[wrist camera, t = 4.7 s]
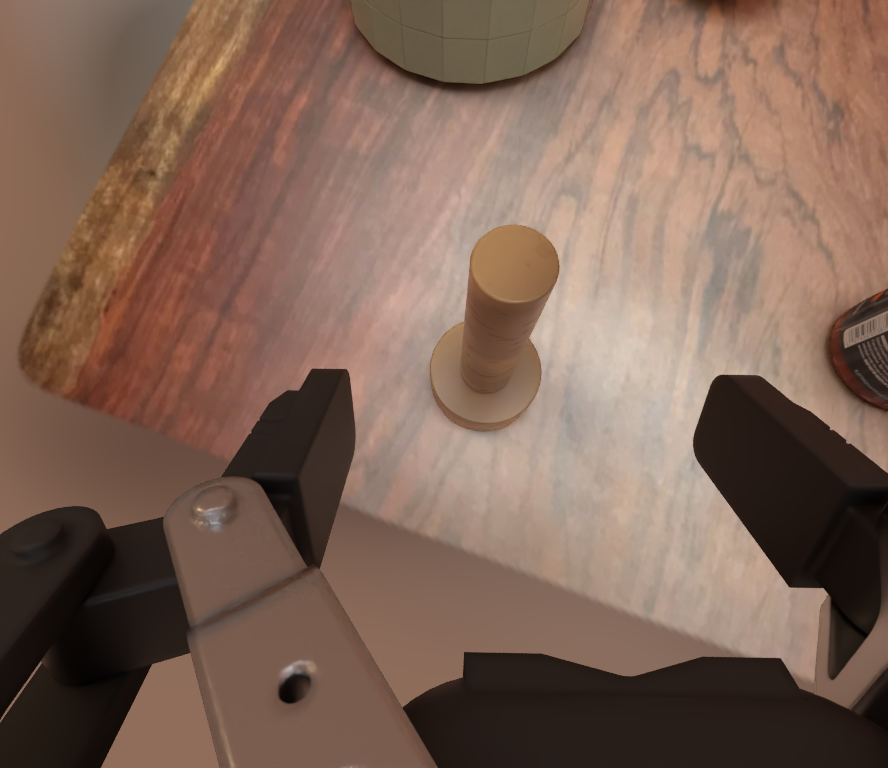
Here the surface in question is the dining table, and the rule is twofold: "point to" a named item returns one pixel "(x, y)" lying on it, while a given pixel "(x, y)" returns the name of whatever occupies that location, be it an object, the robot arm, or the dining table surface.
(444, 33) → the bowl
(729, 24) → the dining table surface
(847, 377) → the supplement bottle
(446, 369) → the wooden peg on base
